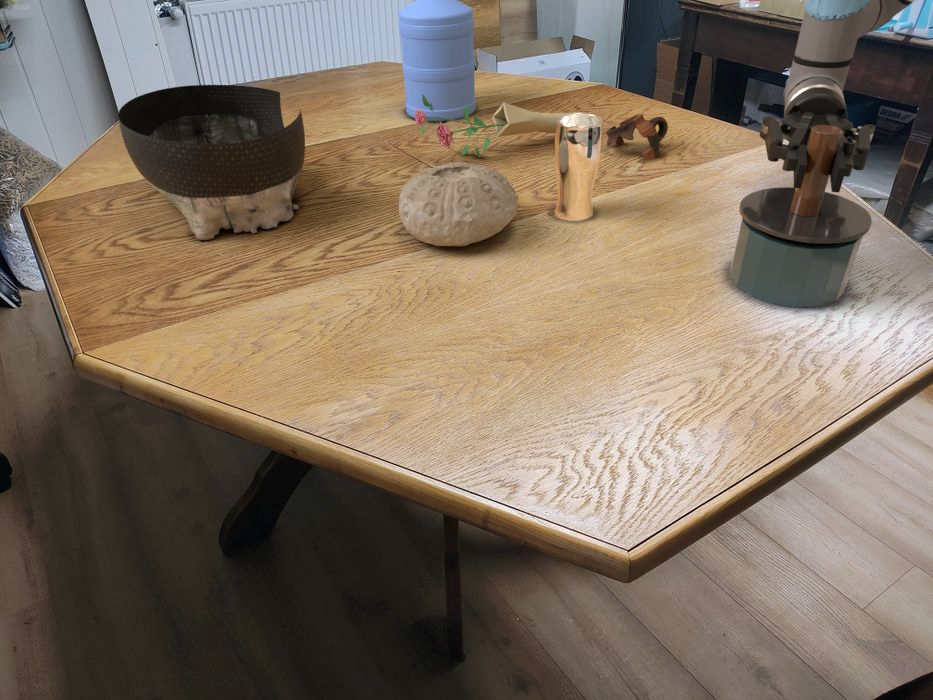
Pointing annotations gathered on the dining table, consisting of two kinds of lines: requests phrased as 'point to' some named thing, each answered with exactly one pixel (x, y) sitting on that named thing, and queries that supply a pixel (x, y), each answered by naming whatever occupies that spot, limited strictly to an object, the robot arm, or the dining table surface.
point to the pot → (791, 268)
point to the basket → (217, 154)
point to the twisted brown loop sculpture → (645, 130)
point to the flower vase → (505, 121)
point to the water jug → (438, 58)
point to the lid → (809, 201)
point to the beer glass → (576, 163)
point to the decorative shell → (457, 204)
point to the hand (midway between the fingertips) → (819, 178)
